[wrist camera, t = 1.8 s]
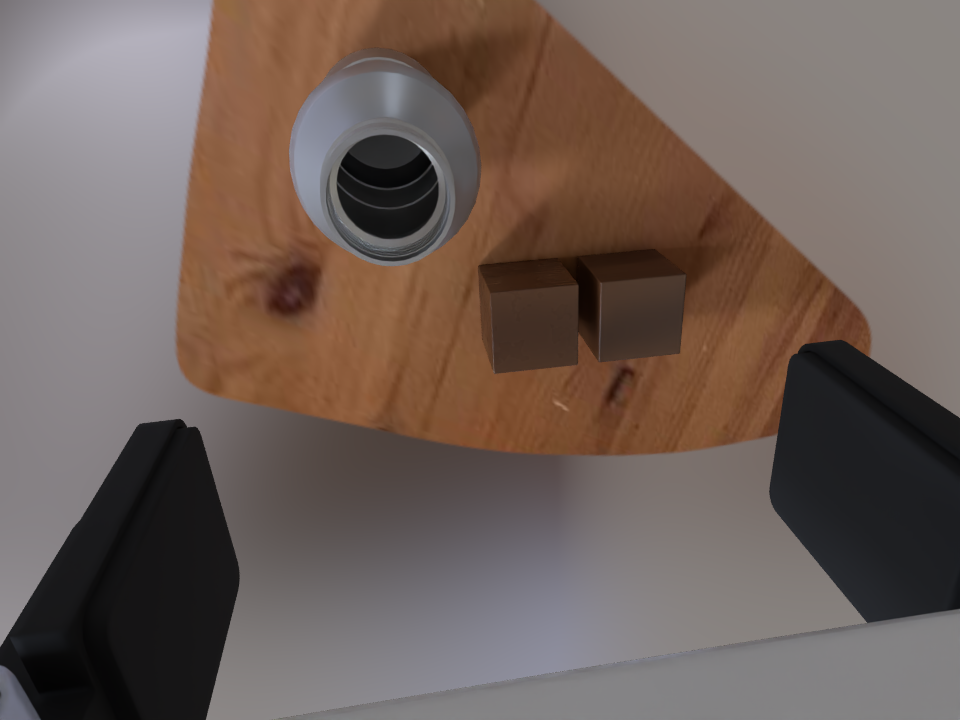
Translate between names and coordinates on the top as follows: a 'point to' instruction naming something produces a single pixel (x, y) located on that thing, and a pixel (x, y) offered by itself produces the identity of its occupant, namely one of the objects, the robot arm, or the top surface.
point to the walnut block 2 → (630, 305)
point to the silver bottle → (384, 158)
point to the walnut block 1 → (529, 315)
